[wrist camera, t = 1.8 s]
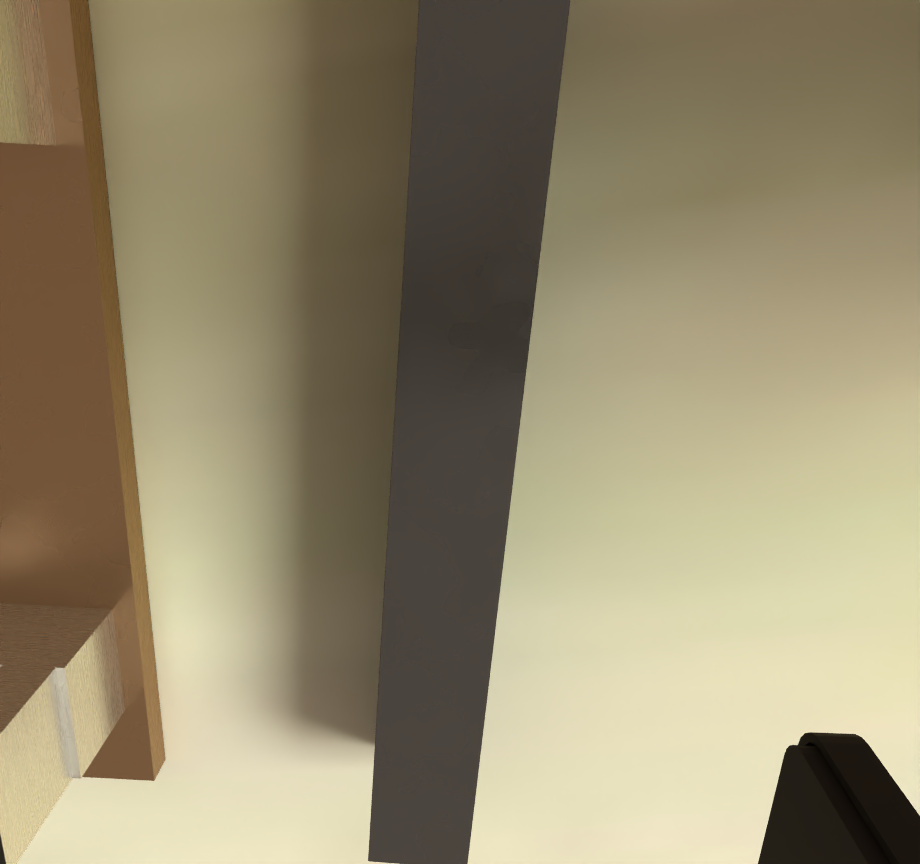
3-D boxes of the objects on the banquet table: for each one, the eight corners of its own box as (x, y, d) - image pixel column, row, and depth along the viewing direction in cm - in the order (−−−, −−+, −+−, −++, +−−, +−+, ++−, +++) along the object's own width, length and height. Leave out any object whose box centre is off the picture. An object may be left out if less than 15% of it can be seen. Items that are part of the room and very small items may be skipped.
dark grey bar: (560, -80, 19) (589, -163, 14) (467, 748, 27) (466, 869, 23) (440, -91, 19) (429, -179, 14) (386, 741, 27) (368, 860, 23)
